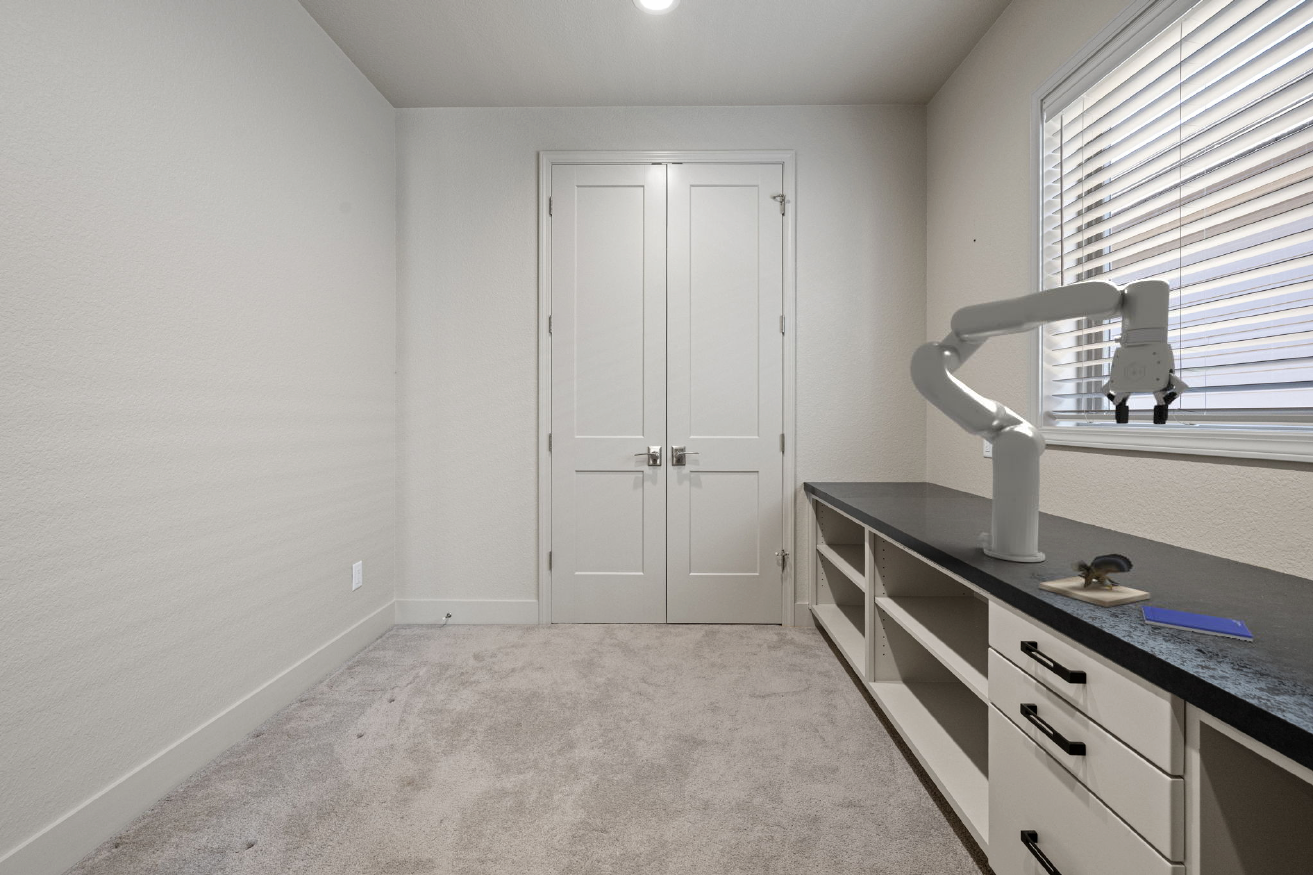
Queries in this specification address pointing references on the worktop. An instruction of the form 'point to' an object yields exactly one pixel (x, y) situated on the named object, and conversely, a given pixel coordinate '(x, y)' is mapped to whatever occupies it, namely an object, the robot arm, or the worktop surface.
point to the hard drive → (1196, 623)
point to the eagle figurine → (1102, 568)
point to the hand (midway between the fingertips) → (1140, 423)
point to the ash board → (1094, 591)
